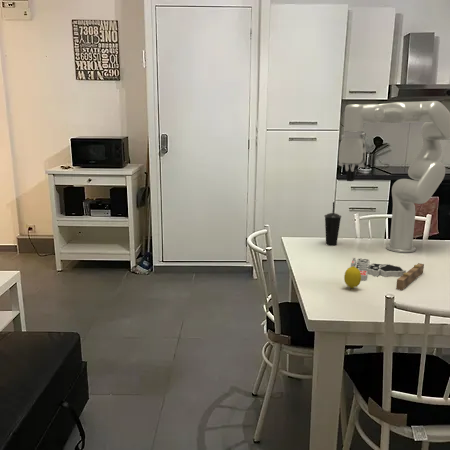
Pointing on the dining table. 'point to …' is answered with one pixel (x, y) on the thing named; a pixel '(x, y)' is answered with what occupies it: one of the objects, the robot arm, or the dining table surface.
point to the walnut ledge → (409, 276)
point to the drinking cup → (332, 227)
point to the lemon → (352, 277)
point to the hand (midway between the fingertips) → (350, 180)
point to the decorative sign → (376, 269)
